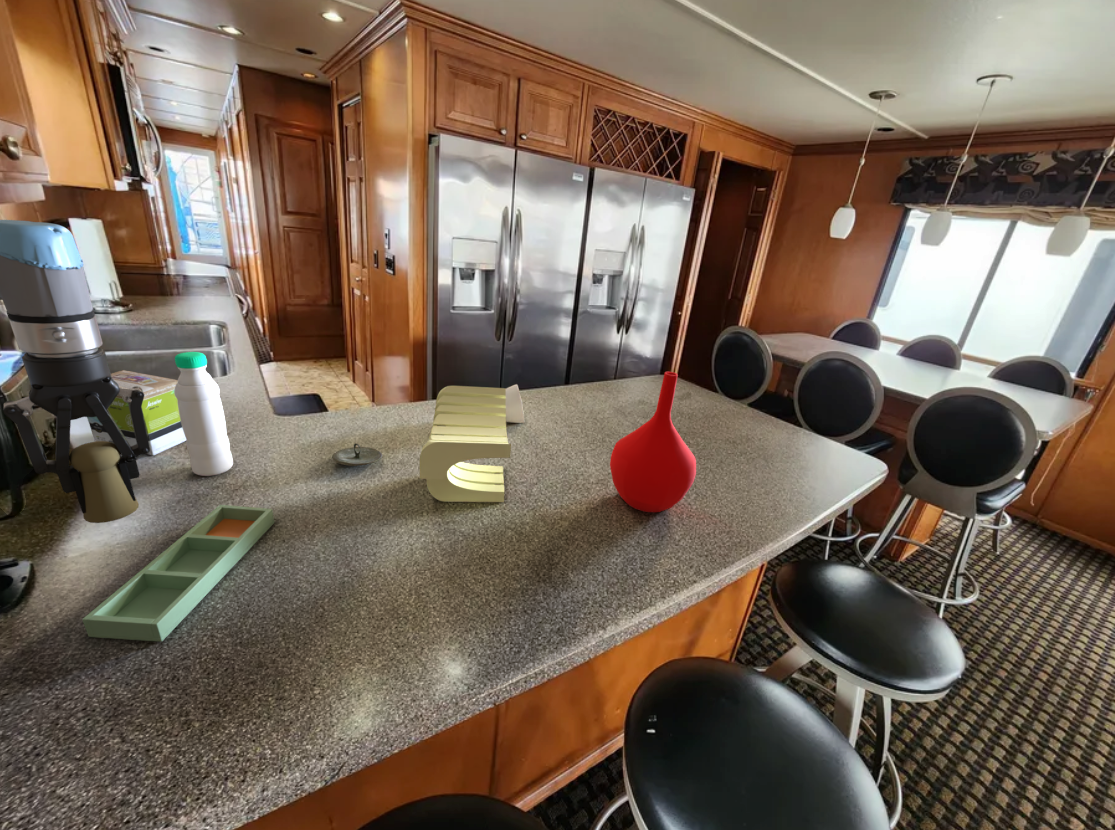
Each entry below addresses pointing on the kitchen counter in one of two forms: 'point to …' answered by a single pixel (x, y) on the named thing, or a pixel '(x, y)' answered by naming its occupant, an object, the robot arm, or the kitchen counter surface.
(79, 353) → the robot arm
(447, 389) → the slatted curved stool
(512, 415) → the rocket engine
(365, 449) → the lid
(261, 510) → the compartment tray
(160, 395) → the tea box
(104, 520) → the cork
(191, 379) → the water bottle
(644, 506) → the vase
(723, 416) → the kitchen counter surface
